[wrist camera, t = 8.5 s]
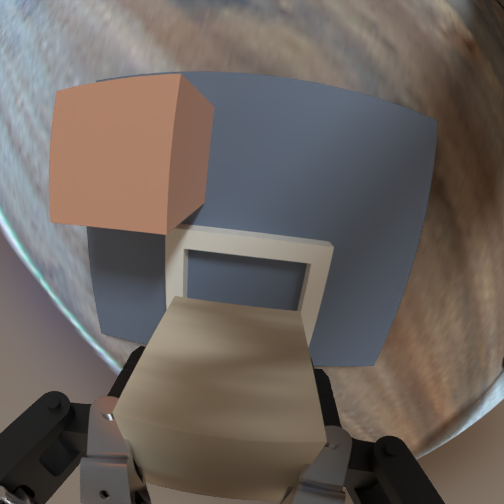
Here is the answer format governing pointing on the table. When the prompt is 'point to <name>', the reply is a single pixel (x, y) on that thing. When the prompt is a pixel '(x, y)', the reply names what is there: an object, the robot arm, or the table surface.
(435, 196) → the table surface
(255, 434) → the birch block
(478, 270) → the table surface
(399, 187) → the grey board
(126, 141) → the terracotta block
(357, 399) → the table surface
